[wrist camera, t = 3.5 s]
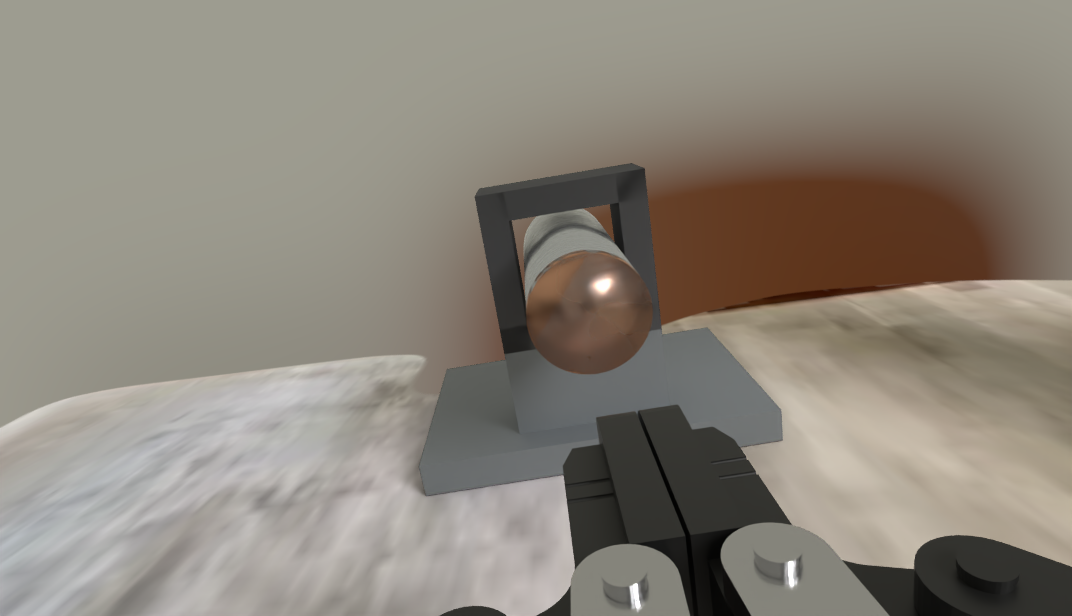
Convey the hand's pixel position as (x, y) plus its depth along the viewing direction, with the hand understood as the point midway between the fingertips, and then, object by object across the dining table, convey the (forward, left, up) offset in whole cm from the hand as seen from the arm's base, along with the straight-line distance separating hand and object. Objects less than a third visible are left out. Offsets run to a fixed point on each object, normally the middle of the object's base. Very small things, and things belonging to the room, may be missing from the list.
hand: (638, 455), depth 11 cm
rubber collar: (0, -17, -4) cm, 17 cm away
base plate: (0, -20, -9) cm, 21 cm away
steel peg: (0, -14, -2) cm, 14 cm away
